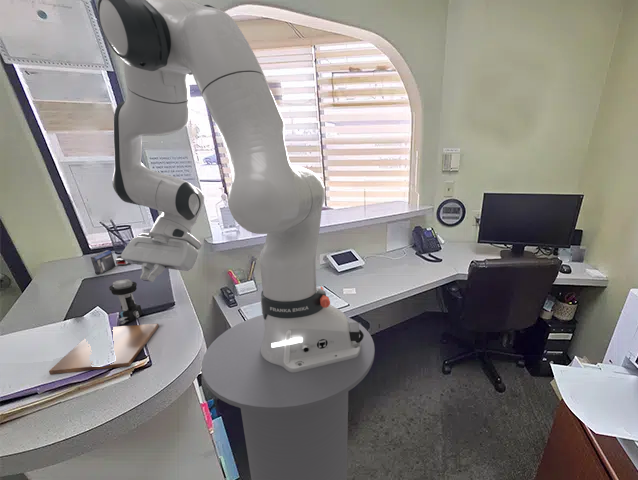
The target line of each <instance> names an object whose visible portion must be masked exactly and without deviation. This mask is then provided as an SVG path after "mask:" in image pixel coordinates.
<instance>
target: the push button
mask: <svg viewBox="0 0 638 480" xmlns="http://www.w3.org/2000/svg"><path fill="white" fill-rule="evenodd" d="M137 286H138V282H135V281H132V280H131V279H128V278H124V279H117V280H115V281H113V282H112V285H110V286H109V287H108V289H109V291H110V292H111V294H112V295H114V296H117V297H118V299H119V301H120V305H121V306H120V309H121V312H120V313H119V315H120V319H119V321H120V325H124V324H125V323H131V322H133V321H134V320H135V319H138V318H139V317H140V316H141V315H143V310H142V306H141V304H137V303H136V302H135V298H134V295H133V294H134V292H136V291H137V289H138V288H137Z"/></svg>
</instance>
